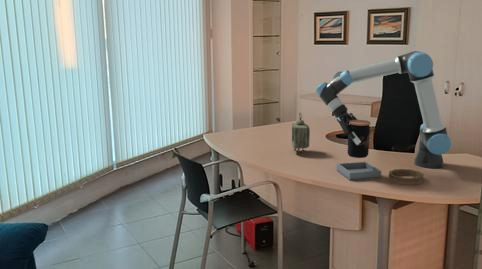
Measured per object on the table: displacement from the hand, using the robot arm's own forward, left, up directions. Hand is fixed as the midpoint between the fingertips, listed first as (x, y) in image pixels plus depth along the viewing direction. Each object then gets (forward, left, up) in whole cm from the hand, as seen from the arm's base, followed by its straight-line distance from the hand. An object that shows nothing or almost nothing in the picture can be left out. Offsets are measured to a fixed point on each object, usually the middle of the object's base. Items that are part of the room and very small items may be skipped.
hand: (363, 141), depth 246 cm
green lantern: (+17, -50, -19) cm, 56 cm away
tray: (+1, -2, -18) cm, 18 cm away
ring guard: (-19, +11, -18) cm, 28 cm away
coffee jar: (+2, -2, -8) cm, 9 cm away
